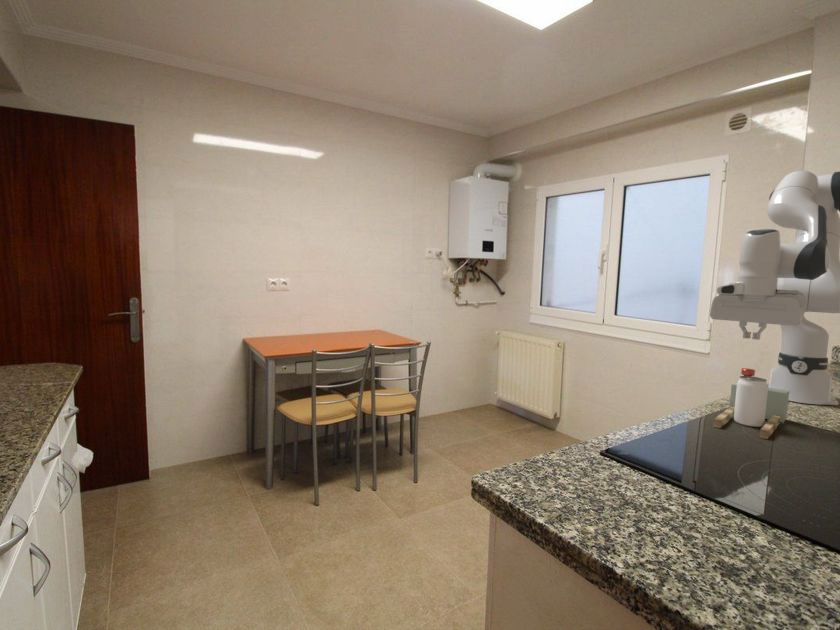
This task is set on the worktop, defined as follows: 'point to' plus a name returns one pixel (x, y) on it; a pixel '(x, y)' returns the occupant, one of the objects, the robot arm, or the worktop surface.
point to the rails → (764, 431)
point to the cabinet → (770, 402)
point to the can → (751, 401)
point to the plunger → (747, 372)
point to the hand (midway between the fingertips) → (751, 338)
